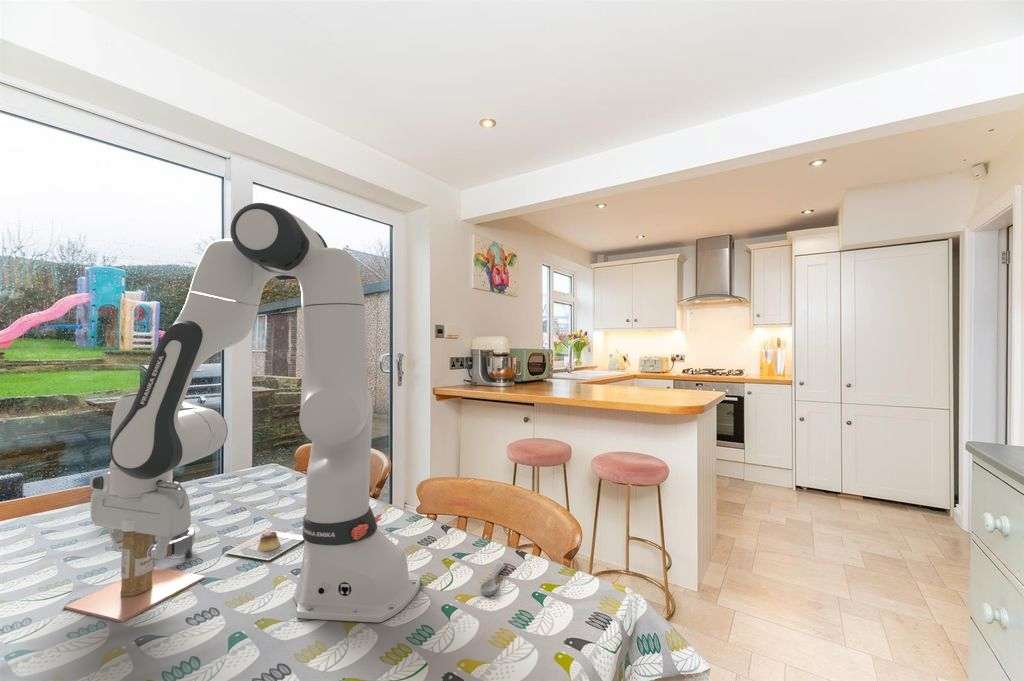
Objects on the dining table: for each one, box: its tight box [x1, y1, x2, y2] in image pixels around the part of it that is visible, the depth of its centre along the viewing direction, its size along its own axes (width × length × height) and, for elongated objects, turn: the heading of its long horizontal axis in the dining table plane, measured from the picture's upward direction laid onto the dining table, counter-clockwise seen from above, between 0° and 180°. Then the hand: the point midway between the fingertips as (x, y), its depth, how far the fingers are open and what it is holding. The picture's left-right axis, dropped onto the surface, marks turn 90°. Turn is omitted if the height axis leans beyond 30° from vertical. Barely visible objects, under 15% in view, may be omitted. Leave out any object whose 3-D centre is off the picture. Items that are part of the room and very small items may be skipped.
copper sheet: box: [63, 565, 206, 623], centre depth 77 cm, size 14×14×1 cm
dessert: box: [223, 527, 305, 562], centre depth 96 cm, size 12×12×5 cm
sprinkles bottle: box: [120, 519, 153, 597], centre depth 77 cm, size 5×5×14 cm
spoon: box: [479, 563, 506, 597], centre depth 82 cm, size 3×12×2 cm, turn 167°
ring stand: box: [153, 526, 196, 566], centre depth 90 cm, size 10×10×4 cm
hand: (139, 554), depth 78 cm, fingers open, 8 cm apart
